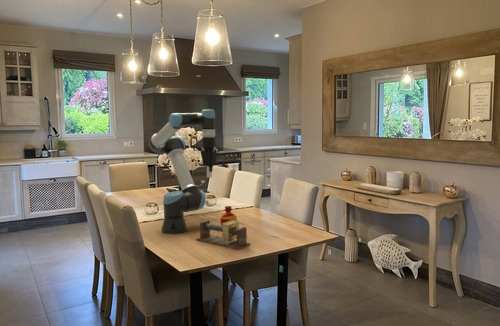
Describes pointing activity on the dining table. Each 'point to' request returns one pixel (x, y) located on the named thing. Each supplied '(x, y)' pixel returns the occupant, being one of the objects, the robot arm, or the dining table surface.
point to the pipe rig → (218, 240)
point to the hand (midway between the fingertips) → (209, 177)
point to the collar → (227, 230)
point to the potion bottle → (228, 216)
